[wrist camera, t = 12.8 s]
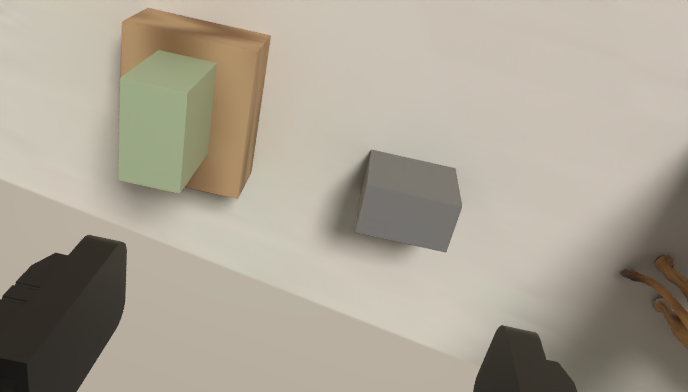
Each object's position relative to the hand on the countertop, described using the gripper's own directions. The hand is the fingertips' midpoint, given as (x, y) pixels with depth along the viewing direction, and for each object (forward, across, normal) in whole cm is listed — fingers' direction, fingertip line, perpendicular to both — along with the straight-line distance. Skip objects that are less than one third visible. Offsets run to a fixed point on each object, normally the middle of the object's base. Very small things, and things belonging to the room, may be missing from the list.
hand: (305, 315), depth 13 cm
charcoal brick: (+28, -5, +10) cm, 30 cm away
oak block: (+28, +10, +7) cm, 31 cm away
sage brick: (+24, +10, +6) cm, 27 cm away
